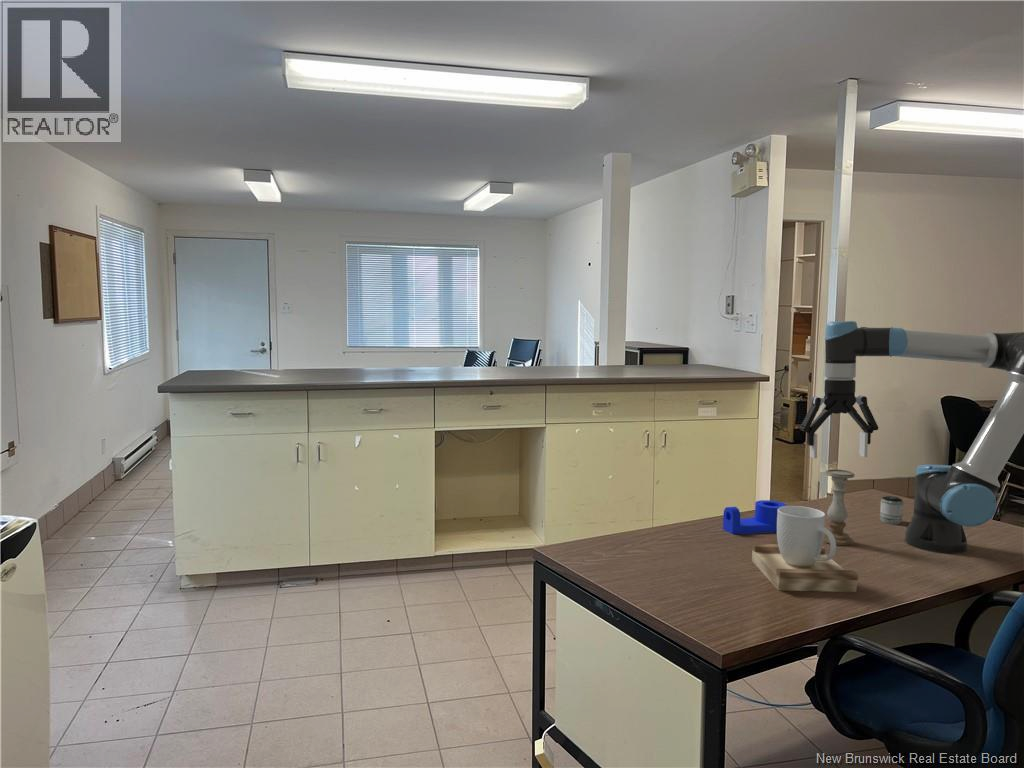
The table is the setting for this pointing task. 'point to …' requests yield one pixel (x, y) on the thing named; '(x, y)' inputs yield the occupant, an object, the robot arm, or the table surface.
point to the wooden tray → (802, 572)
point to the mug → (802, 535)
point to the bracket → (758, 524)
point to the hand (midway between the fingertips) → (838, 456)
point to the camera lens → (891, 510)
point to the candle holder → (838, 507)
